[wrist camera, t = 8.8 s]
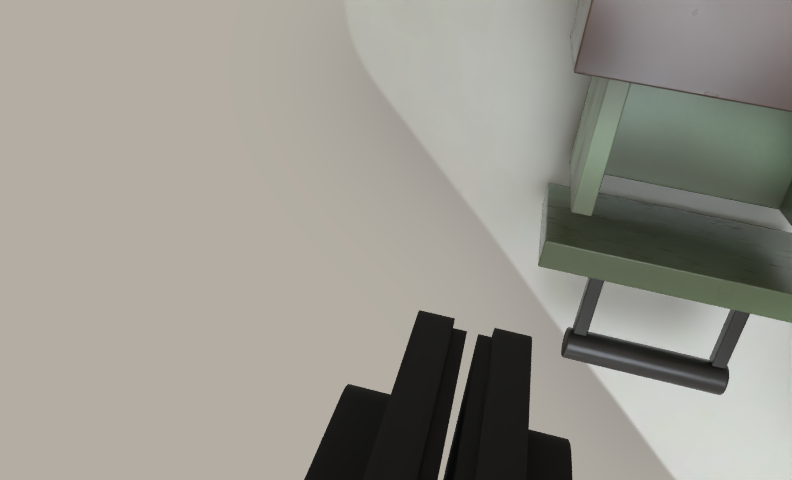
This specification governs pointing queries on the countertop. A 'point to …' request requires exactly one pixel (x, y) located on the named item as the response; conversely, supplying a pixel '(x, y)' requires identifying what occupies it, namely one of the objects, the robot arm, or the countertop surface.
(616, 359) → the bin drawer
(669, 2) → the cabinet
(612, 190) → the countertop surface
